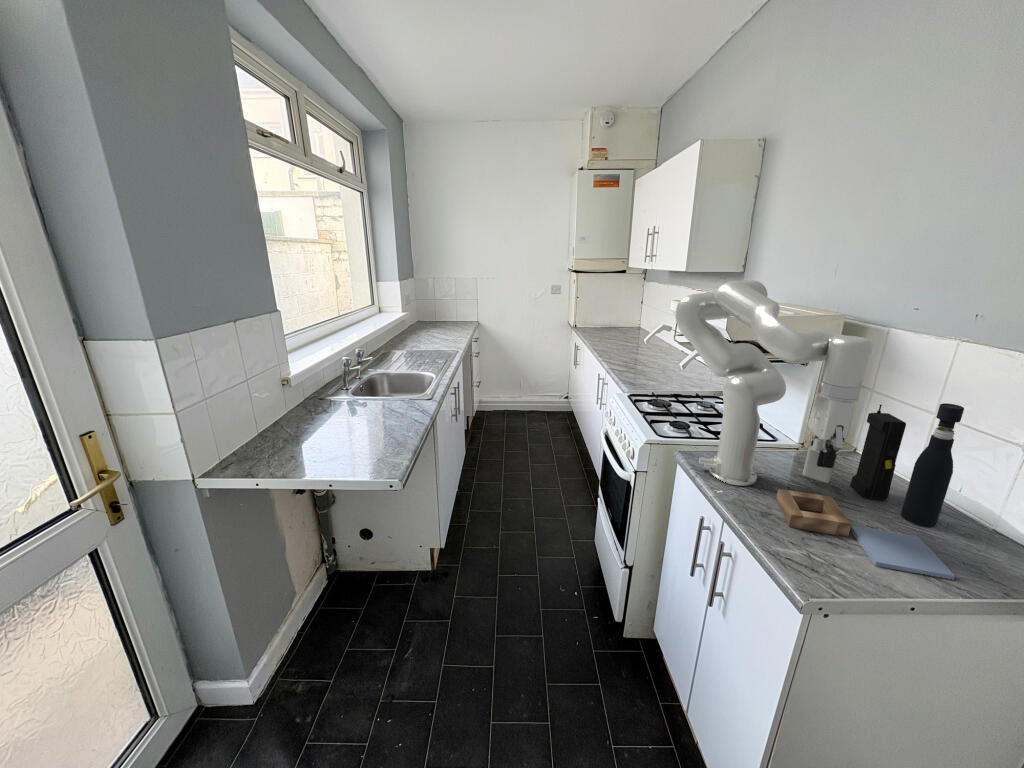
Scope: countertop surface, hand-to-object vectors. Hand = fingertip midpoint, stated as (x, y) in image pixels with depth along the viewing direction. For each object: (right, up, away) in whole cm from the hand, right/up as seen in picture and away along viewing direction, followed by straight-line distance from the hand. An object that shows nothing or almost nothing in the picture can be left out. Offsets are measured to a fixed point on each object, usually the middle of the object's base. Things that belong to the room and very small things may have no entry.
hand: (820, 460), depth 99 cm
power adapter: (0, -4, +1) cm, 5 cm away
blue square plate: (+11, -19, -8) cm, 23 cm away
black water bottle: (+26, -15, +3) cm, 31 cm away
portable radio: (+24, -12, +14) cm, 30 cm away
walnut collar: (0, -15, +4) cm, 16 cm away
